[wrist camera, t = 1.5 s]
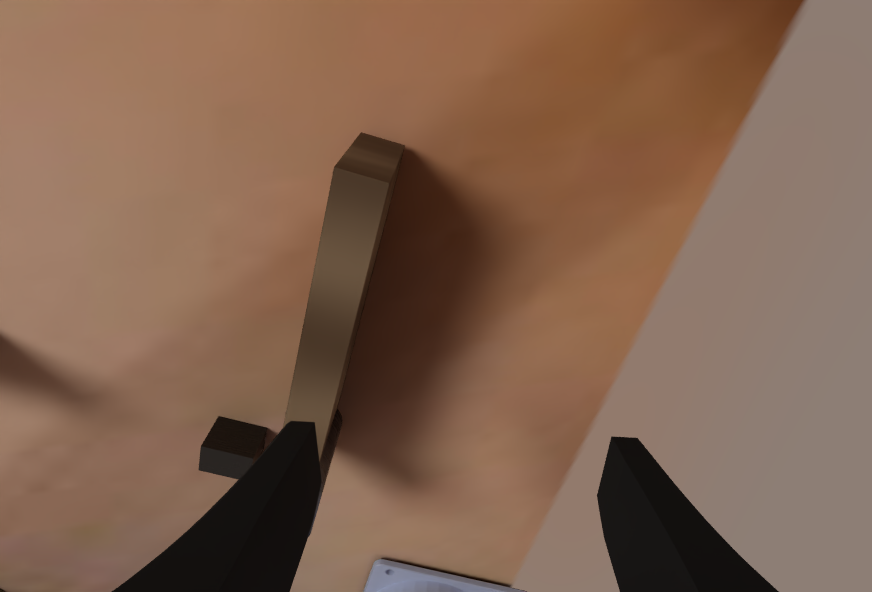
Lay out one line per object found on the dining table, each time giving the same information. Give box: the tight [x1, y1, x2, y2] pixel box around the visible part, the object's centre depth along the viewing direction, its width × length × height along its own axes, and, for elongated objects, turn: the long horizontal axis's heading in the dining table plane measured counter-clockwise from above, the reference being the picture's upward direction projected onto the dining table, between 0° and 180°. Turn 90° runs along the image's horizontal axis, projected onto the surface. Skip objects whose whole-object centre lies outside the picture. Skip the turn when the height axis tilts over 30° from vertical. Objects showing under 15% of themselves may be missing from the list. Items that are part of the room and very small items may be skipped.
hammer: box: [199, 409, 342, 537], centre depth 23 cm, size 22×4×6 cm, turn 74°
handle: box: [283, 132, 405, 462], centre depth 20 cm, size 13×2×5 cm, turn 164°
